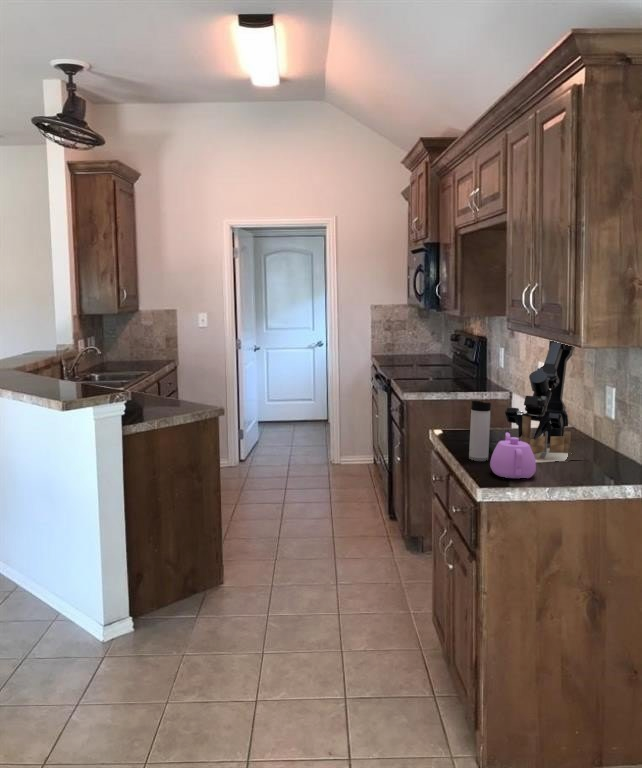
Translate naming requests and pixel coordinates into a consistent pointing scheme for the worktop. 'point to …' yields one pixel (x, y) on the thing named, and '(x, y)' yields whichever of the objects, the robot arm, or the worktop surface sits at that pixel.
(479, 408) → the travel mug
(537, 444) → the gate
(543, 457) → the card
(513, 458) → the teapot
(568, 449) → the base
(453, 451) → the worktop surface
